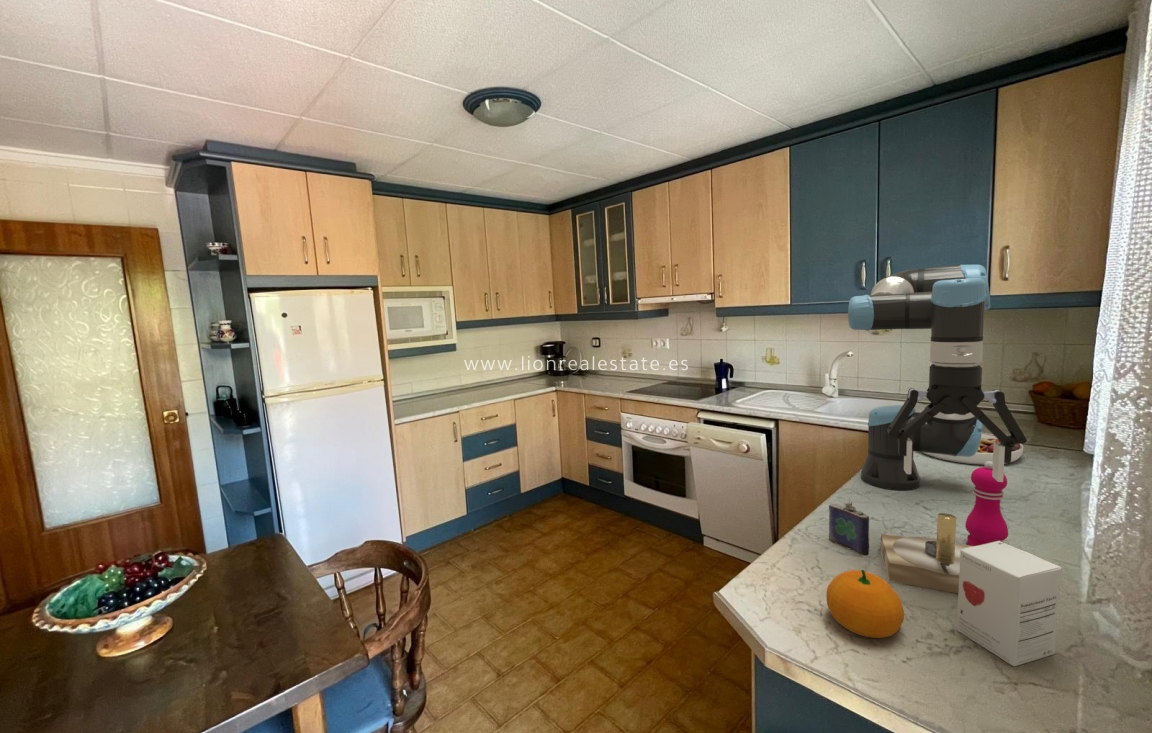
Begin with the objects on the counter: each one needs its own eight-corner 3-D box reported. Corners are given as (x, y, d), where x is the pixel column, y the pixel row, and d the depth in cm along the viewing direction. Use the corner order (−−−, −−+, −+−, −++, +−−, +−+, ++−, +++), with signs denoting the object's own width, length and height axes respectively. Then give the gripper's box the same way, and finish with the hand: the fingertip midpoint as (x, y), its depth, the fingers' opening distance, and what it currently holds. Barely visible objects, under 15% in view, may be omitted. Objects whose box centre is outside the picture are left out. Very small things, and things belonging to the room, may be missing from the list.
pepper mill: (1015, 556, 100) (1020, 467, 98) (977, 554, 102) (981, 466, 99) (993, 539, 107) (997, 456, 105) (957, 538, 109) (960, 456, 107)
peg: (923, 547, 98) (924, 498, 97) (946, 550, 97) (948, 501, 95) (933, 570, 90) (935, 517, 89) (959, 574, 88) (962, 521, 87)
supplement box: (953, 629, 80) (957, 547, 78) (994, 619, 82) (998, 538, 80) (1013, 668, 71) (1019, 577, 70) (1057, 655, 73) (1063, 566, 71)
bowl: (901, 456, 166) (902, 435, 165) (922, 437, 186) (922, 418, 185) (1017, 475, 144) (1018, 450, 143) (1026, 451, 163) (1027, 429, 162)
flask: (826, 539, 112) (826, 497, 111) (834, 536, 113) (834, 494, 112) (864, 557, 104) (865, 511, 102) (872, 553, 105) (873, 508, 104)
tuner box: (879, 548, 107) (880, 530, 106) (980, 562, 99) (981, 544, 98) (890, 584, 94) (890, 564, 93) (1007, 604, 86) (1008, 582, 85)
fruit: (813, 621, 84) (813, 569, 83) (844, 595, 91) (845, 547, 90) (885, 658, 75) (887, 600, 74) (915, 626, 81) (916, 573, 80)
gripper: (877, 366, 88) (875, 475, 90) (1056, 366, 77) (1049, 490, 79) (872, 361, 94) (870, 463, 97) (1036, 361, 83) (1029, 475, 86)
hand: (950, 475), depth 88 cm, fingers open, 13 cm apart
